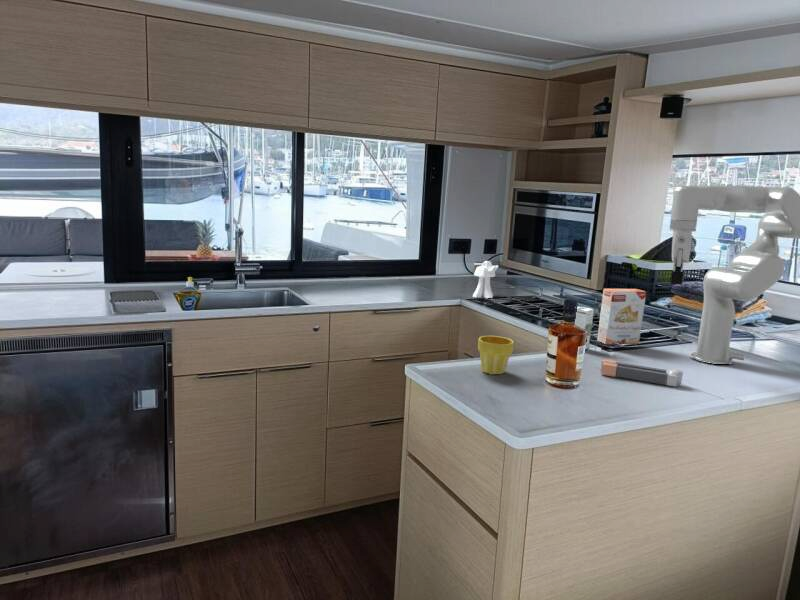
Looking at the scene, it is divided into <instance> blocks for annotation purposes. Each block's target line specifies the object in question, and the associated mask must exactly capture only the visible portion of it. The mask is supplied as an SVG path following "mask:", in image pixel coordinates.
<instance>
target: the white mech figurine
mask: <svg viewBox="0 0 800 600" xmlns="http://www.w3.org/2000/svg"><path fill="white" fill-rule="evenodd" d="M478 265H479V266H478ZM473 266H476V268H475V270H474V273H473V276H475V277H478V283H477V287H476V288H475V290H474V292H473V294H472V298H474V297H475V299H476V298H477V297H479V298H484V297H485V298H484V299H488V298H492V299H493V297H494V293H493V290H492V287H491V278H495V277H496V273H495V272H496V271H497V269H498V268H500V267H499V265H498V264H496V265H493V264H492V262H491V261H490V260H485V261H483V263H482V262H479V263H478V262H477V263H476V262H474V263H473ZM477 299H478V298H477Z"/></svg>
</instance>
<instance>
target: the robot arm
mask: <svg viewBox="0 0 800 600" xmlns="http://www.w3.org/2000/svg"><path fill="white" fill-rule="evenodd" d="M699 210H702V211H720V212H726V213H727V212H728V213H751V214H753V213H754V214H763V215H762V216H761V218H760V219H759V221H758V223H757V224H758V225H757V235H756V238H755V241H754V242H753V243H751V244H750V245H749V246H748V247H746V248H745V249H743V250H742V251H741V252H739V253H738V254H737V255H735V256H734V257H733V258H732V259H731V260H730V262H729V265H728V266H729V267H723V266H722V267H721V266H716V267H712V268H710V269H709V270H708V271H707V272H705V274H704V276H703V280H702V282H703V283H702V287H703V288H702V289H703V305H702V311H701V316H700V317H701V318H700V324H699V325H700V326H699V331H698V338H697V345H696V351H694V352H691V353H690V357H691V356H692V357H693V358H695V359H698V360H701V361H705V362H710V363H715V364H730V363H732V364H733V359H735V360H740V361H744V359H745V354H744V353H743V354H742V353H739V352H733V351H732V350H731V349H730V346H731V345H730V344H731V337H732V334H733V333H732V332H733V327H734V326H733V325H734V320H735V314H736V313H735V312H736V309H735V304H734V301H735V300H736V301H739V302H740V301H741V302H749V301H753V300H755V299H757V298H758V297H759V296H760V295H762V294H763V293H765V292H766V291H767V290H768V289H771V287H772V286H774V285H775V284H776V283H778V282H779V280H781V278H782V276H783V274H784V271H785V262H784V260H783V259H782V257H780V256H779V255H780V245H779V241H778V240H779V239H778V238H786V239H796V240H800V193H798V191H797V190H795V189H794V188H792V187H778V186H777V187H775V186H773V187H771V186H754V185H752V186H751V185H750V186H749V185H723V186H722V185H721V186H720V185H719V186H716V185H701V184H700V185H696V184H695V185H692V184H690V185H678V186H675V188H674V190H673V197H672V205H671V215H670V221H669V222H670V224H669V231H673V232H672V240H671V261H672V262H673V267H672V270H671V279H670V284H671V285H682V284H683V277H684V271H683V269H684V262H685V263H686V264H688V263H690V258H691V257H690V255H691V248H692V247H691V246H692V238H693V237H692V236H693V232H696V231H697V225H698V216H699ZM733 300H734V301H733ZM730 365H731V364H730Z"/></svg>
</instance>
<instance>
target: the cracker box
mask: <svg viewBox="0 0 800 600" xmlns="http://www.w3.org/2000/svg"><path fill="white" fill-rule="evenodd" d="M646 297H647V291H646V290H641V289H637V288H603V290H602V299H601V308H600V315H599V324H598V330H597V339H596V342H597V341H600V342H602V343H604V344H612V343H619V344H639V345H640V339H641V330H642V323H643V318H644V310H645V305H646V304H645V303H646Z"/></svg>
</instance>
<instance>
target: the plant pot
mask: <svg viewBox="0 0 800 600" xmlns="http://www.w3.org/2000/svg"><path fill="white" fill-rule="evenodd" d="M477 342H478V343H477V349H478V351H479V355H480V356H479V357H480V365H481V366H480V367H481V371H482V372H483V373H484V372H485V374H487V373H489V374H488V375H492V374H501V375H503V374H504V373H505V371H506V368H507V365H508V362H509V359H510V355H512V354H513V351H514V340H512V339H511V338H509V337H504V336H499V335H481V336H479V337H478V341H477ZM502 373H503V374H502Z"/></svg>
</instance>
